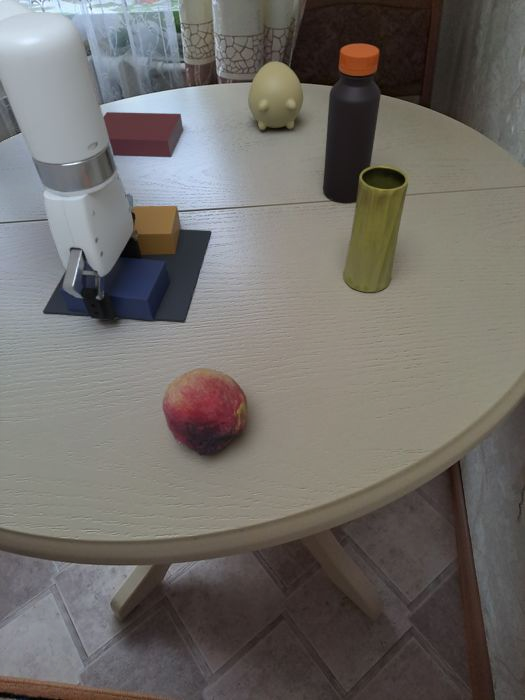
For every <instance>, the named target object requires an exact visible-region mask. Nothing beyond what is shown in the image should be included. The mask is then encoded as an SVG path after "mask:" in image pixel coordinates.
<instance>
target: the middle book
mask: <svg viewBox="0 0 525 700" xmlns="http://www.w3.org/2000/svg"><path fill="white" fill-rule="evenodd" d="M86 269H90V270H93V269H92V267H91V266H90V265H89V264H88V263H86ZM95 278H96V276H90V275H87V277H86V288H95ZM169 284H170V279H169V275H168V270H167V266H166V262H165V261H156V260H146V259H136V258H126V257H119V258H118V259H117V261H116V263H115V264H114V266H113V268H112V269H111V271H110V272H109V273H108V274H107V275H105V288H104V292H105V293H108V294H109V296H110V299H111V302H112V305H113V308H114V310H115V313H116V316H119V317H128V318H136V319H135V320H138V319H145V320H144V321H154V320H153V319H154V317H155V315H156V313H157V310H158V308H159V306H160V304H161V301H162V299H163V297H164V295H165V293H166V290H167V288H168V286H169ZM60 292H61V295H62V297H63V299H64V301H65V303H66V305H67V308H68V310H69V311H76V312H85V313H88V311H87V309H86V306H85V304H84V301H83V299H82V298H75V297H72V296H71V295H70V294H69V293H67V292H66V291H65V290H64V289H63V285H62V287H61V288H60Z"/></svg>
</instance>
